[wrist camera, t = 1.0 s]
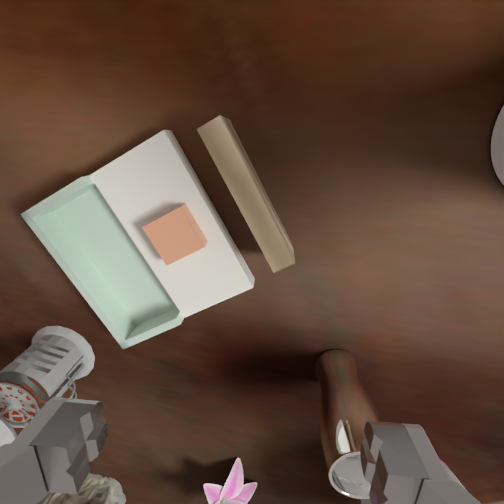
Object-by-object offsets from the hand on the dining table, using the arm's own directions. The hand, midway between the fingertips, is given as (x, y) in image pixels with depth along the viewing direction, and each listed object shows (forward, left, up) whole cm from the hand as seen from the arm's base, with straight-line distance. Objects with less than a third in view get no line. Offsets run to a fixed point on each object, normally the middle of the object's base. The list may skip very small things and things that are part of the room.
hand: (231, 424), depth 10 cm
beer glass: (+1, +24, -29) cm, 38 cm away
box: (+20, -3, -29) cm, 35 cm away
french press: (+36, +6, -29) cm, 47 cm away
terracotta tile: (+10, -3, -26) cm, 28 cm away
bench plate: (+10, -3, -29) cm, 31 cm away
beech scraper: (0, -3, -29) cm, 29 cm away
